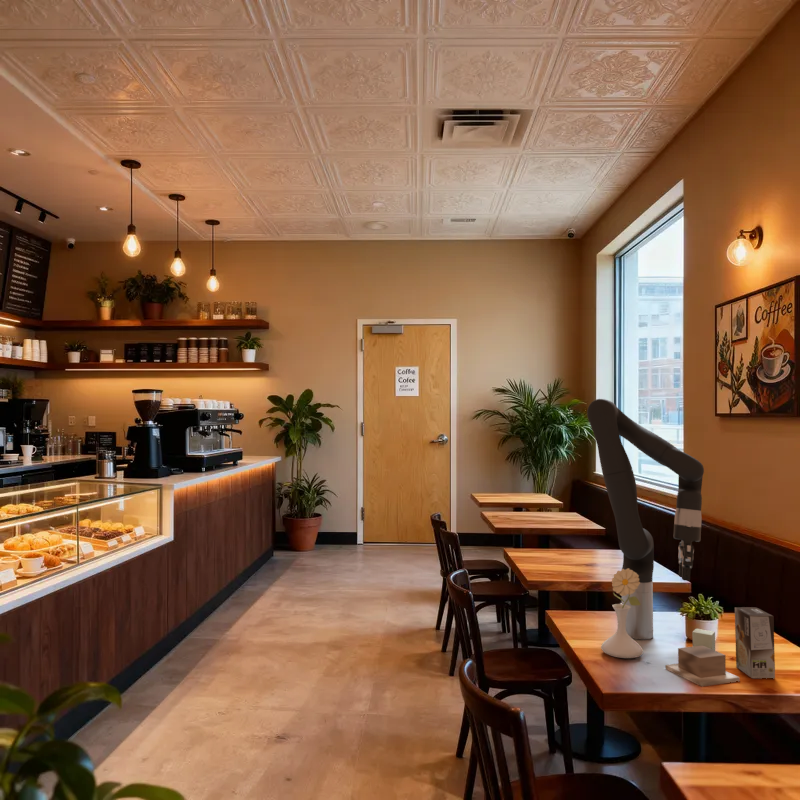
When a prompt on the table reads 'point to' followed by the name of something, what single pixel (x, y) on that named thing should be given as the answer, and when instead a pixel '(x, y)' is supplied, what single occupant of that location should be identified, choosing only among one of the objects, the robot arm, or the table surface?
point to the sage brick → (704, 638)
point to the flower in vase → (623, 617)
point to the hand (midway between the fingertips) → (684, 578)
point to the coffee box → (755, 642)
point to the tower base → (703, 680)
